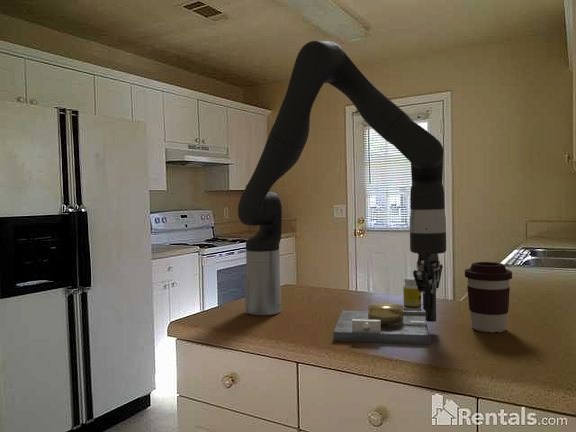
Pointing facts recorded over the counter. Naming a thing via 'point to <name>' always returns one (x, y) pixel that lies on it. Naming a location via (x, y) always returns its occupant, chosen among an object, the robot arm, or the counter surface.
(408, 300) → the supplement bottle
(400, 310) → the cam capstan
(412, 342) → the stand
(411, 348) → the counter surface
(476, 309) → the coffee cup
